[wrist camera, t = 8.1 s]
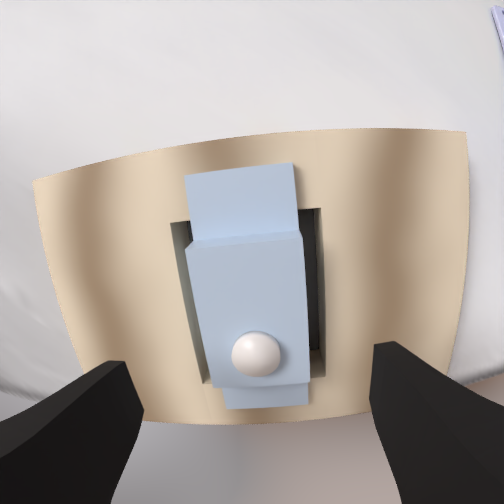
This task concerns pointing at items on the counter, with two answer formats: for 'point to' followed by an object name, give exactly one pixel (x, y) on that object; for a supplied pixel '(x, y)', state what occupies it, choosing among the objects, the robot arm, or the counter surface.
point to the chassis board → (327, 254)
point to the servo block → (250, 284)
